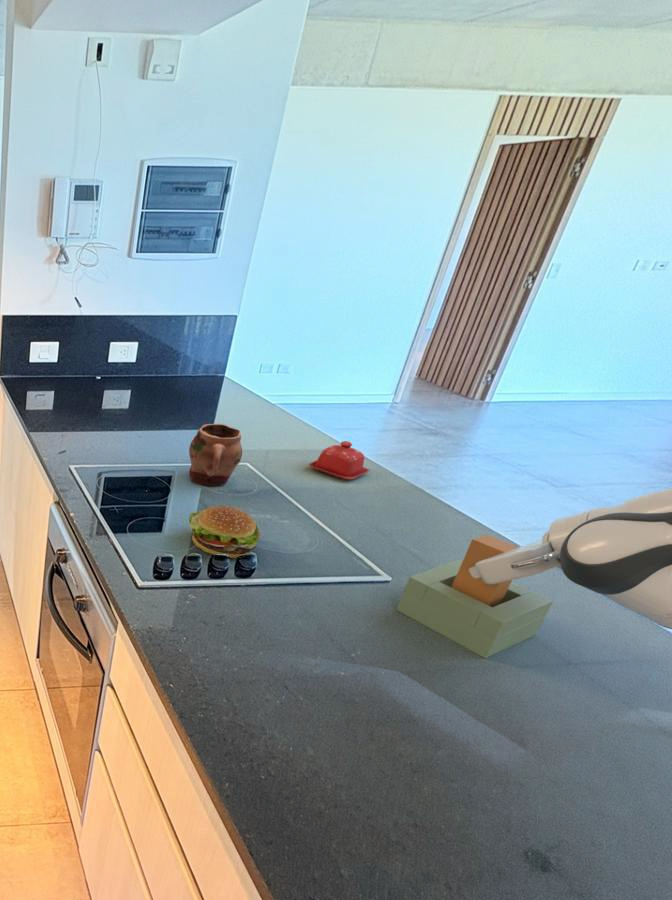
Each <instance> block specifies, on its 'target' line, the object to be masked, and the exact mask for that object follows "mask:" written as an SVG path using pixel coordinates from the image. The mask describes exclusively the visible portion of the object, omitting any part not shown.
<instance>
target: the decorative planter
mask: <svg viewBox="0 0 672 900" xmlns="http://www.w3.org/2000/svg"><path fill="white" fill-rule="evenodd" d="M241 441H242V434H241V431H240V430H239V429H237V428H235V427H231V426H229V425H228V424H223V423H208V424H207V423H206V424H203V425H202V426H201V427H200V428H199V429H198V431H197V433H196V434H195V436H194V437H193V439H192V440H191V442H190V445H189V449H188V455H189V459H190V467H189V470H188V475H189V479H190V480H191V481H192V482H193V483H195V484H198V485H204V486H212V487H213V486H214V487H216V486H217V487H218V486H224V485H226V484H227V483H228V481H229V479H230V478H231V476H232V474H233V473H234V471H235V470H236V468H237V467H238V465H239V464H240V463H241V460H242V456H243V446H242V442H241Z"/></svg>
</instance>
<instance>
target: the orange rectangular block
mask: <svg viewBox="0 0 672 900" xmlns="http://www.w3.org/2000/svg"><path fill="white" fill-rule="evenodd" d="M519 547H520V546H518V545H515V544H513V543H510V542H507V541H505V540H502V539H500V538H498V537H495V536H493V535H489V534H484V535H481V536H477V537H474V538H472V539H471V541H470V543H469V546H468V548H467V550H466V553H465V555H464V558H463V559H462V560H463V562H462V564H461V566H460V569H459V571H458V573H457V576H456V578H455V580H454V582H453V585H452V587H451V588H453V589H455V590H457V591H459V592H461V593H463V594H466V595H468V596H470V597H472V598H474V599H476V600H478V601H480V602H482V603H484V604H486V605H488V606H490V607H495V606H497V605H500V604H501V602H502V600H503V598H504V596H505V594H506V592H507V590H508V587H509V585H510V583H511V582H512V581H513V580H510V581H506V582H501V583H497V584H485V583H484V582H483V580H482V578H481V577H480V578H473V577H472V575H471V573H470V572H469V569H470V568H471V567H474V566H475V564H476V563H477V562H480V561H482V560H485V559H488V558H491V557H493V556H496V555H499V554H502V553H505V552H508V551H510V550H513V549H516V548H519Z"/></svg>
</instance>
